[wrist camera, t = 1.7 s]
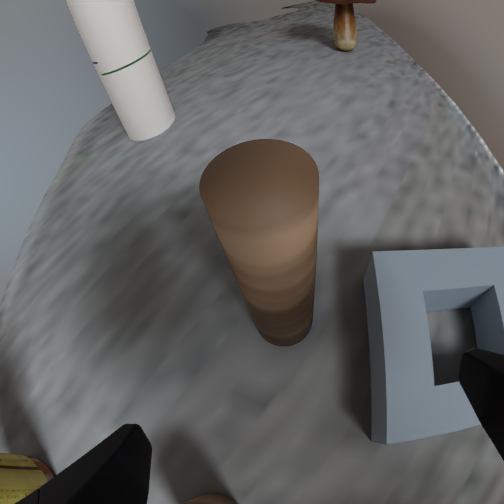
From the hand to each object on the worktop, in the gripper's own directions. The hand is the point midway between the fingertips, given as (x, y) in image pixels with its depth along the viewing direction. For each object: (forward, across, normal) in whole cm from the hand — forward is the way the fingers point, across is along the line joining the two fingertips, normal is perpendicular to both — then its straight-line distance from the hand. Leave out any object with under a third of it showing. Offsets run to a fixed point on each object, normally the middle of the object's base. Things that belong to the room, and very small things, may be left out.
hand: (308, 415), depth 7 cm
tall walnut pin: (+14, 0, +4) cm, 15 cm away
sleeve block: (+11, -11, +8) cm, 17 cm away
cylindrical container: (+36, +12, -17) cm, 42 cm away
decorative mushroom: (+46, -22, -27) cm, 58 cm away
